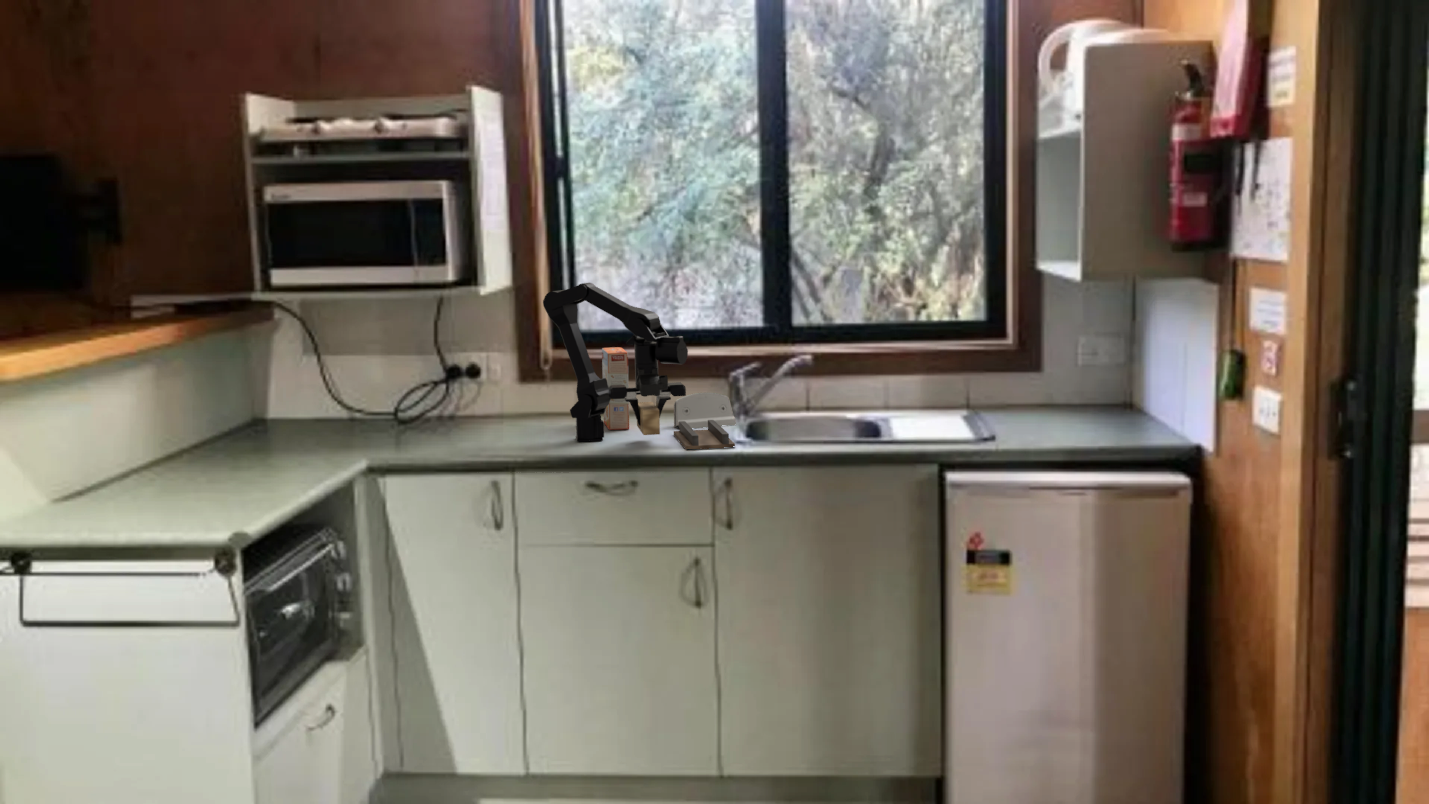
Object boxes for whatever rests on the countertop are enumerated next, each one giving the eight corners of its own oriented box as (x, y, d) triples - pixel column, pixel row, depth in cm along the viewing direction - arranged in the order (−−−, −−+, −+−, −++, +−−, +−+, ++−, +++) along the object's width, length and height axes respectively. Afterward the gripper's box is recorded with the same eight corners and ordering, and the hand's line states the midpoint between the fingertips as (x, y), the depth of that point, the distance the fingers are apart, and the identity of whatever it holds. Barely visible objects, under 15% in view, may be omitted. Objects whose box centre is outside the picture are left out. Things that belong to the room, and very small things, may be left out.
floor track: (686, 450, 324) (686, 436, 323) (673, 434, 345) (673, 421, 345) (735, 447, 326) (734, 433, 325) (719, 432, 347) (719, 419, 347)
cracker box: (631, 429, 355) (628, 351, 351) (608, 431, 353) (605, 352, 350) (624, 421, 368) (622, 346, 365) (603, 422, 367) (600, 347, 364)
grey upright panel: (678, 429, 353) (674, 393, 355) (673, 433, 358) (669, 396, 359) (737, 425, 359) (732, 388, 360) (731, 428, 363) (726, 392, 365)
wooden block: (643, 435, 326) (642, 410, 325) (637, 425, 339) (636, 402, 338) (659, 434, 326) (659, 410, 325) (652, 425, 340) (652, 401, 339)
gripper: (611, 368, 321) (614, 432, 323) (688, 365, 324) (689, 428, 326) (607, 362, 332) (609, 424, 334) (681, 359, 335) (683, 421, 337)
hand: (648, 424), depth 333 cm, fingers closed on wooden block, 4 cm apart
